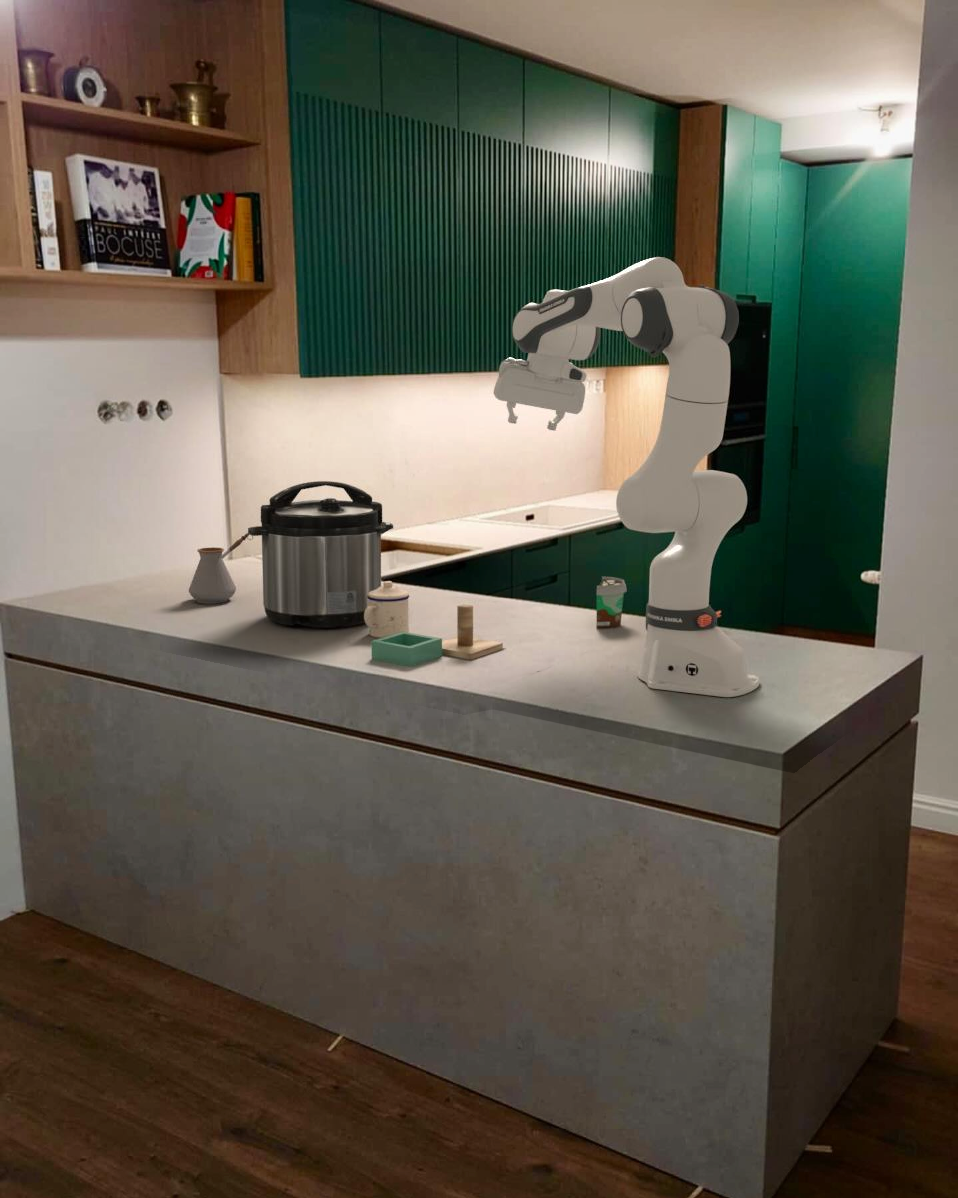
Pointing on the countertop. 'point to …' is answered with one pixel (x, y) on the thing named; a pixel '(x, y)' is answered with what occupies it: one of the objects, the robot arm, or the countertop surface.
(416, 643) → the dish
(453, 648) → the lid
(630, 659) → the countertop surface
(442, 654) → the mat
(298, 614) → the pressure cooker
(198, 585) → the coffee pot
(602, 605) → the food container
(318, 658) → the countertop surface
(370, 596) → the teacup with lid
